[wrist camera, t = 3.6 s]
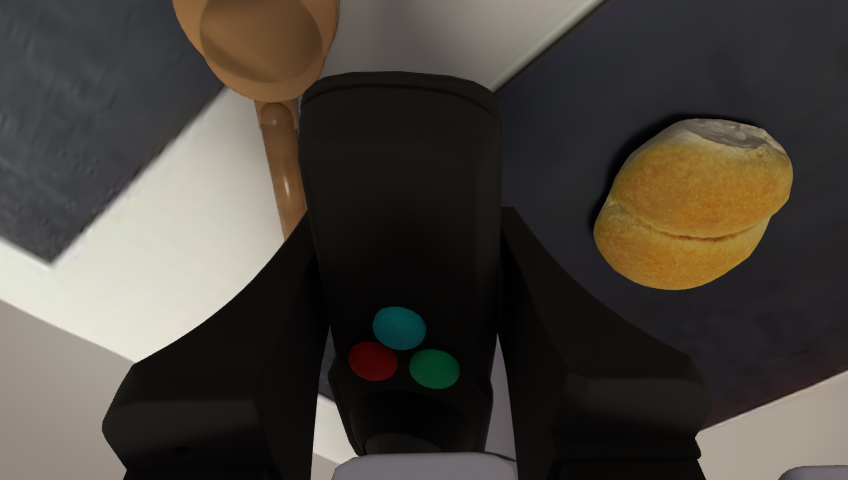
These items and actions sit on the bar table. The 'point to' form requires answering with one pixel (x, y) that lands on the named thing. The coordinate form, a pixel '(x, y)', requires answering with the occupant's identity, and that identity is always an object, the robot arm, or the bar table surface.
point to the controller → (407, 253)
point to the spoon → (267, 71)
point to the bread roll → (692, 203)
